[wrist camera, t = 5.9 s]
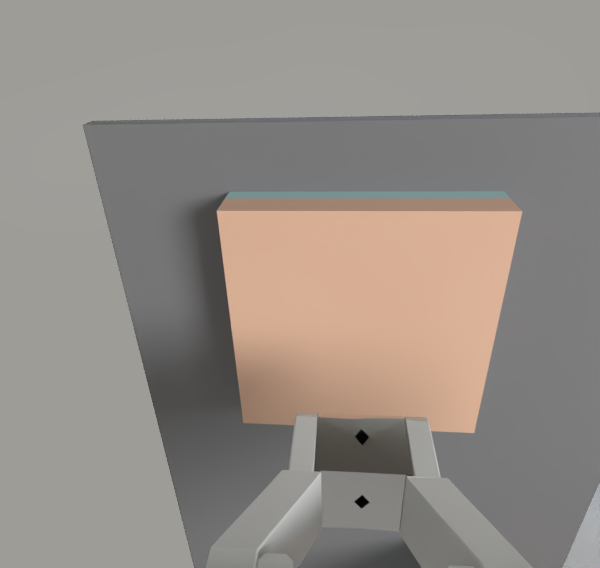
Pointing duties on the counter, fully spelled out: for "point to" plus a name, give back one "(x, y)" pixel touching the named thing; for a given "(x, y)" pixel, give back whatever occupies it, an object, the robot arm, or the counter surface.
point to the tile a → (366, 301)
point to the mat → (368, 178)
